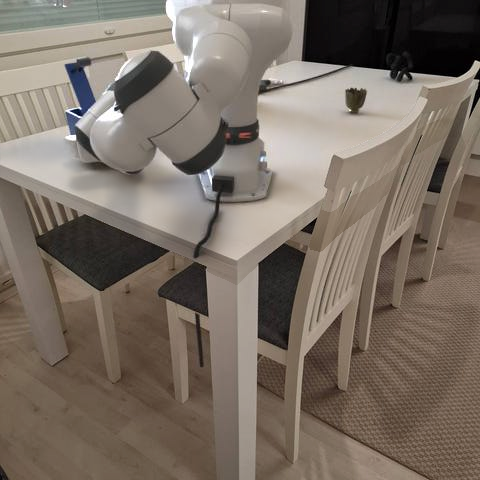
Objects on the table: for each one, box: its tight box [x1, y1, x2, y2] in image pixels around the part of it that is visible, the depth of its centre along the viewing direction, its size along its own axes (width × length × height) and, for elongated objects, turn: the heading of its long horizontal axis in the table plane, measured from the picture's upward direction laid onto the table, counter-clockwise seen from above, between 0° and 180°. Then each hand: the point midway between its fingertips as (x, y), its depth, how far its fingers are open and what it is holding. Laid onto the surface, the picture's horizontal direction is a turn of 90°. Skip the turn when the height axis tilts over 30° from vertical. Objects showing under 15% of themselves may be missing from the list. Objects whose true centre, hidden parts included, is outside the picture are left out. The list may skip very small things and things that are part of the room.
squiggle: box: [385, 51, 414, 83], centre depth 198 cm, size 11×10×15 cm
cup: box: [344, 87, 368, 115], centre depth 156 cm, size 8×7×8 cm
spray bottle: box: [259, 77, 284, 92], centre depth 191 cm, size 3×11×24 cm
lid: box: [63, 56, 97, 116], centre depth 121 cm, size 15×5×9 cm
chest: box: [64, 106, 83, 136], centre depth 134 cm, size 15×5×9 cm, turn 41°
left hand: (62, 5), depth 116 cm, fingers open, 7 cm apart
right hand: (93, 131), depth 130 cm, fingers closed on chest, 5 cm apart
